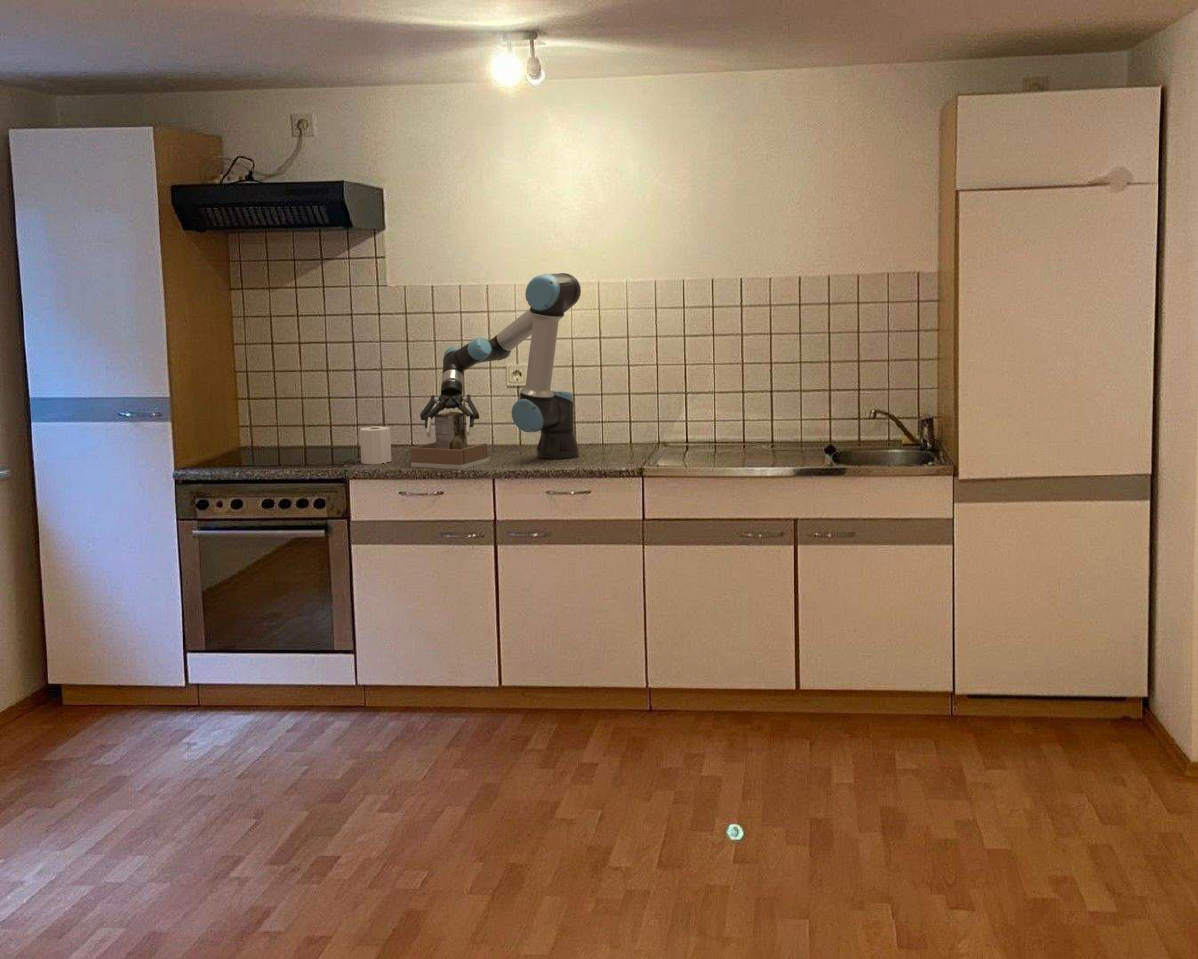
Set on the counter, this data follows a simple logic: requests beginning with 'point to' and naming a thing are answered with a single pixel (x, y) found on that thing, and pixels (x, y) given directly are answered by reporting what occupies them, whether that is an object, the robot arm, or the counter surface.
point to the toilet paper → (375, 445)
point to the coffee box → (450, 431)
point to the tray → (448, 456)
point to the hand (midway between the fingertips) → (448, 434)
